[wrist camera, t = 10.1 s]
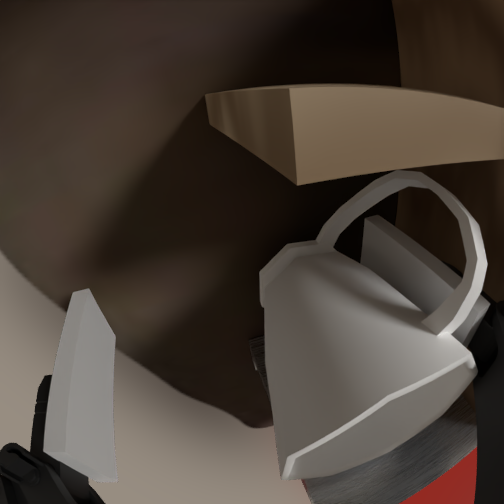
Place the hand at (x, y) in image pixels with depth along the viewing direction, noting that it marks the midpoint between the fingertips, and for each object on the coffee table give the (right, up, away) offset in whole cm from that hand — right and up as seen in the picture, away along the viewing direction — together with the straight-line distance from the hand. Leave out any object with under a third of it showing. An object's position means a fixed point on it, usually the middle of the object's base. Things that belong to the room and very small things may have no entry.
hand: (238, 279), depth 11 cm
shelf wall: (+9, +5, +2) cm, 11 cm away
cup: (+3, +1, +1) cm, 4 cm away
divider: (+3, +7, -1) cm, 8 cm away
